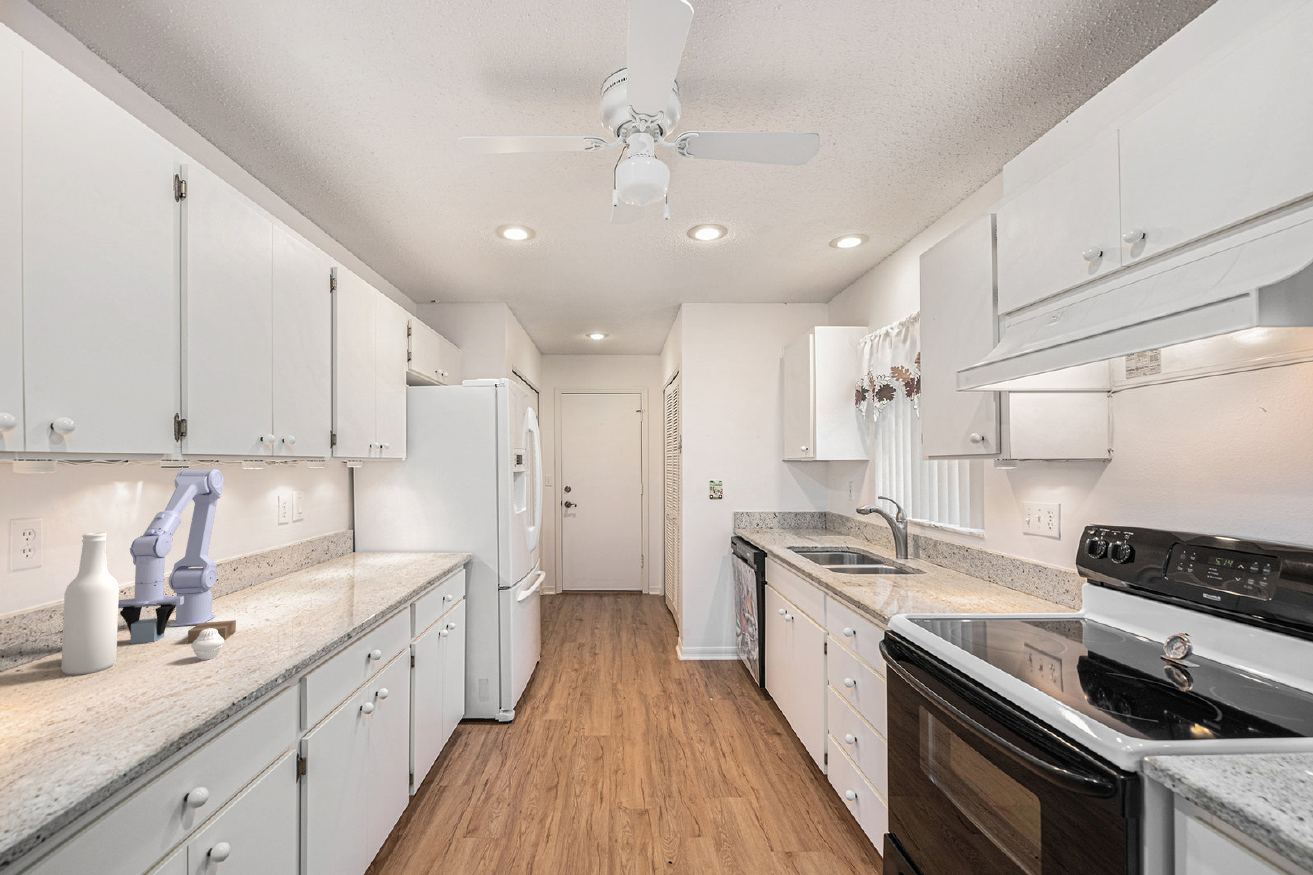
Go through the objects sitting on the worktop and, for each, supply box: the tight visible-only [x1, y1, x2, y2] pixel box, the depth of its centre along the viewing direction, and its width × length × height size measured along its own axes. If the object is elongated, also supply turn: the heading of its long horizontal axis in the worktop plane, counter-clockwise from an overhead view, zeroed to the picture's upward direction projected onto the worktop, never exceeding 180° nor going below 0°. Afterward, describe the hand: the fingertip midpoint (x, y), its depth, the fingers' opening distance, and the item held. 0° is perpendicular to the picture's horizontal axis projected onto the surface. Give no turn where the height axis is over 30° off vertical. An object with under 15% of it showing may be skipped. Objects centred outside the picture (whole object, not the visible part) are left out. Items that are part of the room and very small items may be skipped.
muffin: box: [191, 628, 225, 661], centre depth 138 cm, size 6×6×7 cm
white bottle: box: [60, 532, 120, 676], centre depth 131 cm, size 9×9×30 cm
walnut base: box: [187, 619, 237, 645], centre depth 155 cm, size 8×8×4 cm
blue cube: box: [129, 617, 165, 645], centre depth 152 cm, size 5×5×5 cm
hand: (147, 634), depth 152 cm, fingers closed on blue cube, 5 cm apart
